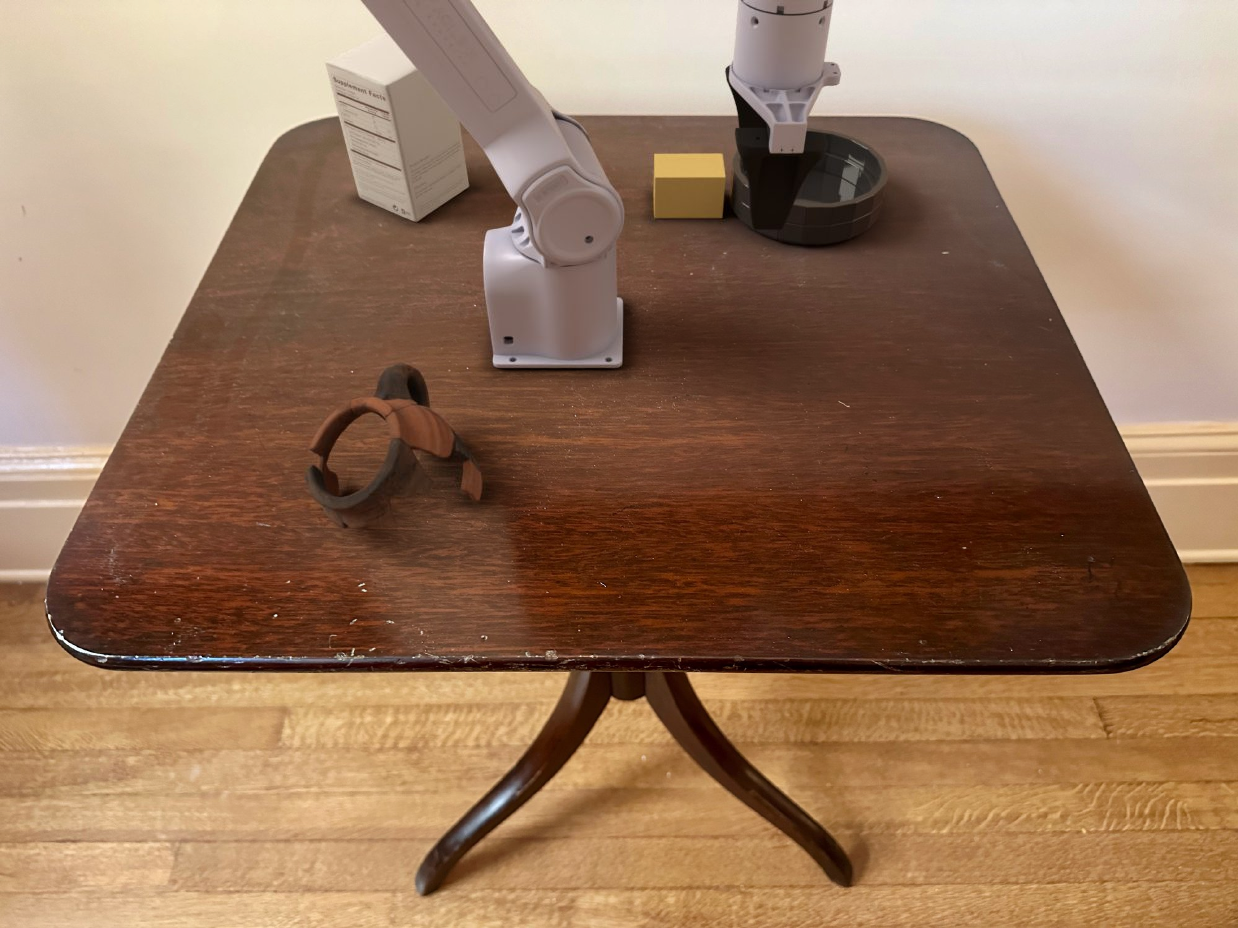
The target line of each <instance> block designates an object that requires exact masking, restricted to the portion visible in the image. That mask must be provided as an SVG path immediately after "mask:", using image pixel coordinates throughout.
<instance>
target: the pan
mask: <svg viewBox="0 0 1238 928" xmlns="http://www.w3.org/2000/svg"><path fill="white" fill-rule="evenodd" d="M806 133H824V135H825V139H826V142H827V148H826V151H825V154H824V156H823V158H822V159H821V160H820V161H819V162H818V163H817V164H816V165H815V167H814V168H813V169H812V170H811V172H810V173H809V174H808V176H807V177H806V179H805V181H804V182H803V184H802V186H801V188H800V190H799V192H798V195H797V197H796V199H795V202H794V204H793V207H792V209H791V212H790V214H789V217H788V219H787V221H786V223H785V225H784V227H783V229H781V230H755V229H753V226H752V221H751V214H750V205H749V186H748V176H747V172H746V171H744V168H743V164H742V159H741V157H740V154H739V152H738V149H737V148H736V151H735V153H734V155H733V156H732V159H731V168H730V179H729V190H728V191H729V192H728V196H729V205H730V208H731V210H732V211H733V212H734V214H735V215H736V217H737V218H738V220H739V221H741V222H742V223H744V224H745V225H746V226H747V227H748V228H750V229H751V230H752V231H754V232H756V233H758V234H760V235H762V236H764V237H767V238H769V239H772V240H775V241H779V242H781V243H786V244H793V245H798V246H799V245H800V246H825V245H832V244H837V243H841V242H845V241H847V240H850V239H853V238H855V237H857V236H860V235H861V234H863V233H866V232H867V231H868V230H869V229H870V228H871V227H872V226H873V225H874V224H875V223H876V222H877V221H878V219H879V217H880V213H881V208H882V205H883V199H884V195H885V191H886V187H887V183H888V179H889V174H890V171H889V168H888V165H887V162H886V160H885V158H884V157H883V156H882V155H881V154H880V153H879V152H878V151H877V150H876V149H875V147H873V146H871V145H869V144H867V143H866V142H864V141H863V140H860V139H858V138H856V137H854V136H852V135H851V136H850V135H847V134H844V133H841V132H837V131H835V130H828V129H822V128H821V129H820V128H815V127H807V129H806Z"/></svg>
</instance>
